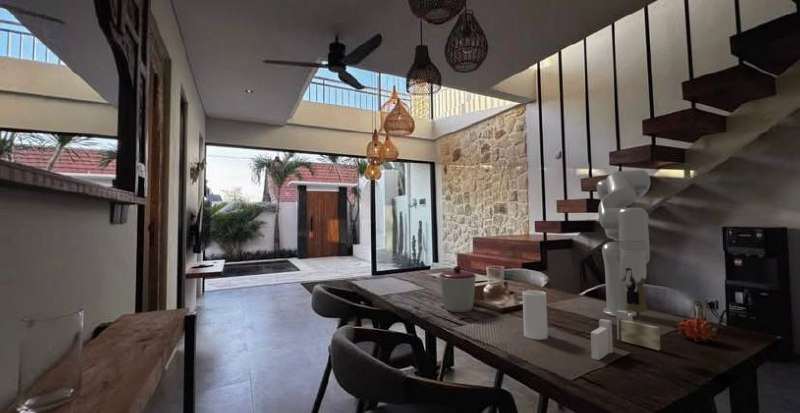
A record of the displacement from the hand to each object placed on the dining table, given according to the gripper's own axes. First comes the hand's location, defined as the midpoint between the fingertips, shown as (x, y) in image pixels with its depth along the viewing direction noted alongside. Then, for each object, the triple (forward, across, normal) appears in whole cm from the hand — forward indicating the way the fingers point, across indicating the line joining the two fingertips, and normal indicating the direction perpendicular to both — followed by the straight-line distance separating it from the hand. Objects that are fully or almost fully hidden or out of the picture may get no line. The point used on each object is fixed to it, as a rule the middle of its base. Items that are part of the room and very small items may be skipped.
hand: (635, 302), depth 110 cm
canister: (+16, +3, -73) cm, 75 cm away
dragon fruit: (+16, -26, +10) cm, 32 cm away
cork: (+2, 0, 0) cm, 2 cm away
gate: (+16, -7, -2) cm, 17 cm away
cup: (+16, +9, -30) cm, 35 cm away
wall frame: (+16, 0, -7) cm, 18 cm away
